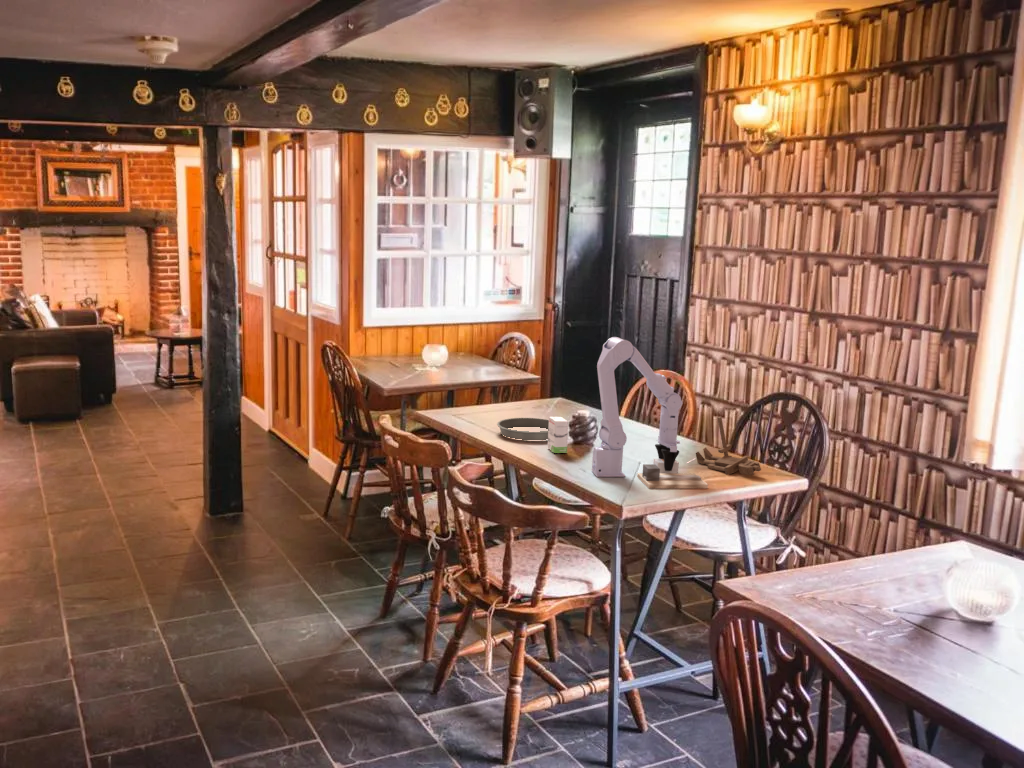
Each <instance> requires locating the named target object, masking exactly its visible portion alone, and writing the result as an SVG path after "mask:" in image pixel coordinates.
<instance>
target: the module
mask: <svg viewBox="0 0 1024 768" xmlns="http://www.w3.org/2000/svg"><path fill="white" fill-rule="evenodd" d="M679 463H680V462H679V461H678V460H676V459H675V462H674V465H673V468H672V471H665V468H664V459H659V458H653V463H652V464H655V465H657V466H658V467H659V468H660V473H679V465H680V464H679Z"/></svg>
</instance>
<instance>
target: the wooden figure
mask: <svg viewBox="0 0 1024 768" xmlns="http://www.w3.org/2000/svg"><path fill="white" fill-rule="evenodd" d="M717 421H718V423H717V424H718V427H719V434H720V439H721V445H722V447H721V448H718V449H717V451H718V453H719V454H723V456H722V457H720V456H714V455H713V454H712V452H710V450H709V449H708V448H707V447H704V448H703V449H702V450H703V454H704V456H703V455H702V454H701V453H700V452H699V451H697V452H695V458H692V459H691V460H689V461H688V462H686V464H688V463H690V462H693V461H694V460H696V461H697V464H699V463H701V464H700V465H707V469H709V468H711V469H710V470H713V469H714V471H721V472H724V473H725V475H727V474H730V475H732V474H733V473H735V472H738V471H739V474H742V475H747V476H753V475H754V474H755V472H760V471H762V467H761V465H760V462H759V461H756V460H755V461H754V460H749V458H748V455H744V456H743V457H740V458H739V457H733V456H732V455H729V450H732V444H727V441H726V435H725V429H724V423H723V418H722V416H717Z"/></svg>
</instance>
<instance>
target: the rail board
mask: <svg viewBox="0 0 1024 768" xmlns="http://www.w3.org/2000/svg"><path fill="white" fill-rule="evenodd" d="M637 478H638V479H639V480H640V481H641V482H642V483H643V484H644V486H646V487H647V489H709V484H708V483H707V482H706V481H704V480H703V479H702V477H701V476H700V475H699V474H696V473H689V472H688V473H687V472H685V473H684V472H683V473H682V472H681V473H679V472H678V473H660V468H659V467H658V466H657V465H655V464H653V463H652V464H651V463H649V464H646V463H645V464H642V472H641V473H640V472H639V473H637Z"/></svg>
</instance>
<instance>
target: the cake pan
mask: <svg viewBox="0 0 1024 768" xmlns="http://www.w3.org/2000/svg"><path fill="white" fill-rule="evenodd" d="M496 425H497V426H498V427H499V430H500V434H502V435H504V436H506V437H510V438H515V439H522V440H546V439H548V431H540V432H529V431H517V430H511V429H508V428H513V427H540V428H546V429H548V426H549V419H546V418H545V419H544V418H538V417H512V418H511V417H510V418H504V419H502V420H499V421H498V422H497V423H496ZM502 435H501V436H502Z"/></svg>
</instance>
